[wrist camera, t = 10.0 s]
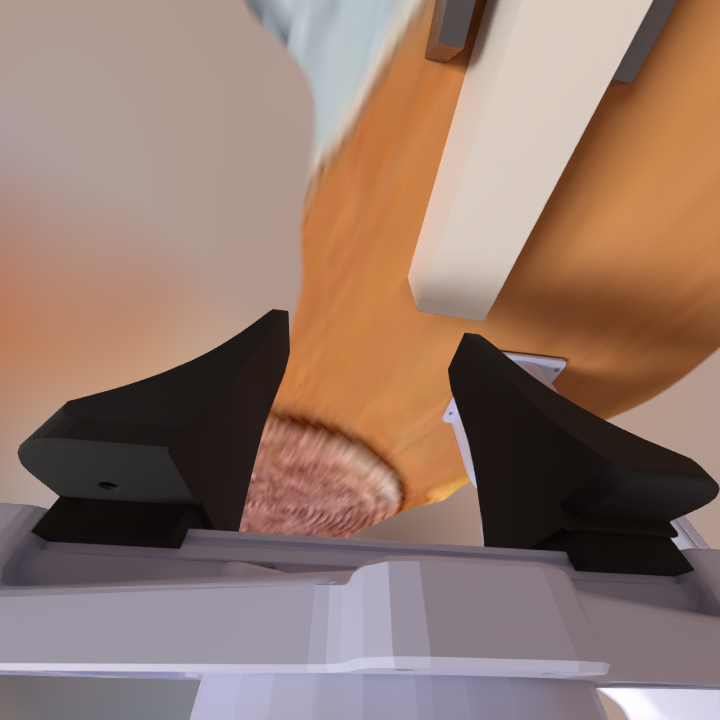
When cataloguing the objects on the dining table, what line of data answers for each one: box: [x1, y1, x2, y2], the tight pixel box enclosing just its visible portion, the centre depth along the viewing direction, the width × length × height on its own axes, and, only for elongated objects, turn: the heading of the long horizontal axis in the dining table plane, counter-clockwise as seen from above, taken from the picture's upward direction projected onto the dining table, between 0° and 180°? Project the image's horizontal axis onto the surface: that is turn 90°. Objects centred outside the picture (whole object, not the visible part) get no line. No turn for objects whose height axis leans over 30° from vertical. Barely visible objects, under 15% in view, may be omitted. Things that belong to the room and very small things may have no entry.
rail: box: [408, 0, 653, 321], centre depth 13 cm, size 16×4×5 cm, turn 171°
